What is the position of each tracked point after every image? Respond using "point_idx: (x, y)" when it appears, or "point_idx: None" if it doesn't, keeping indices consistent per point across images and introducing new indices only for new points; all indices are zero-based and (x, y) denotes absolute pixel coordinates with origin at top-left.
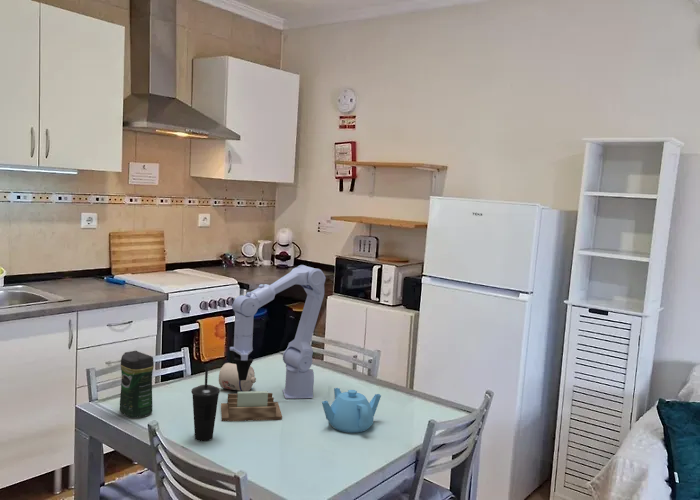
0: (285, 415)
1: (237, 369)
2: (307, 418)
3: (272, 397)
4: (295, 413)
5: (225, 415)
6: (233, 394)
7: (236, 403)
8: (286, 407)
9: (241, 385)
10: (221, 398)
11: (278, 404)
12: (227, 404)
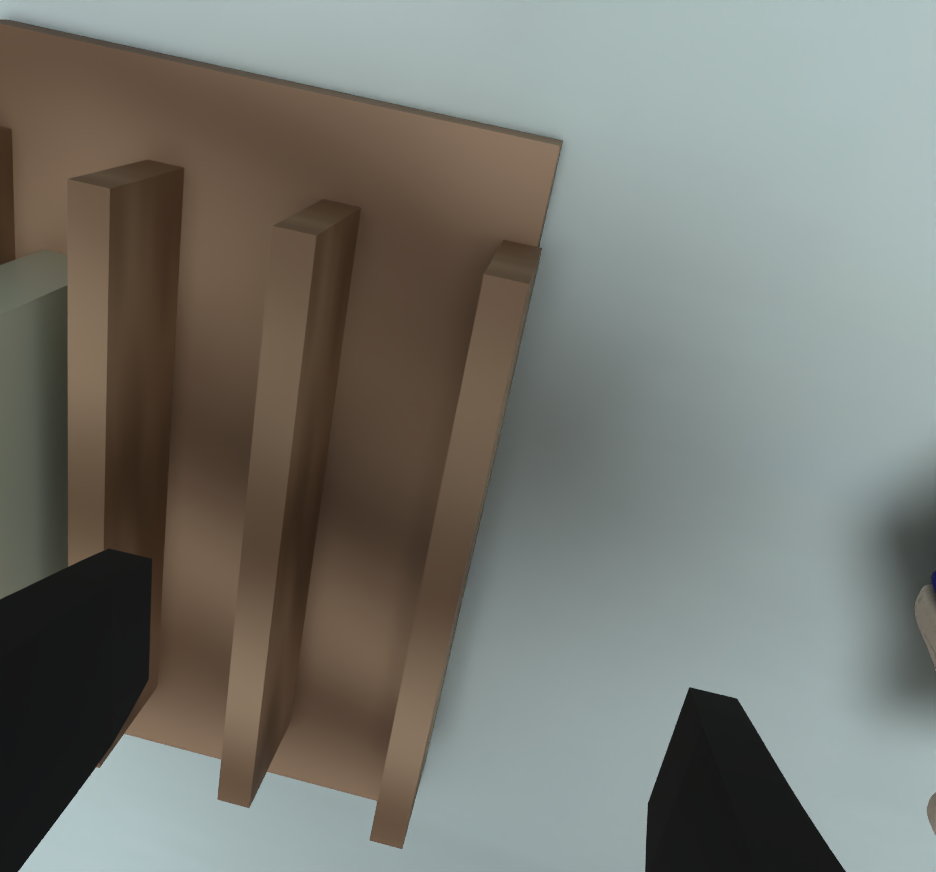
0: (131, 742)
1: (701, 734)
2: (46, 865)
3: (243, 797)
4: (170, 831)
5: (64, 97)
6: (472, 367)
7: (69, 303)
8: (335, 824)
9: (924, 614)
10: (897, 229)
11: (336, 788)
12: (479, 232)
